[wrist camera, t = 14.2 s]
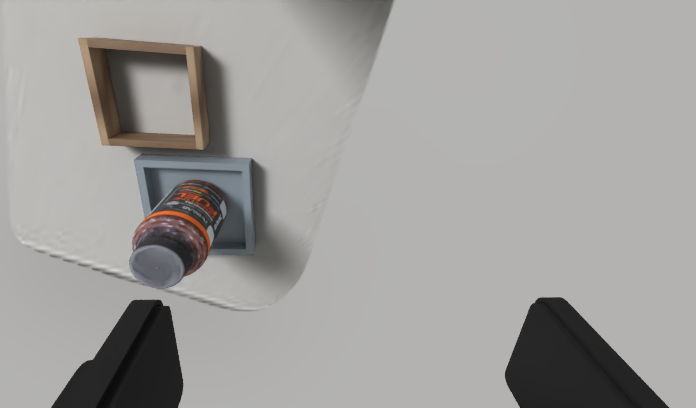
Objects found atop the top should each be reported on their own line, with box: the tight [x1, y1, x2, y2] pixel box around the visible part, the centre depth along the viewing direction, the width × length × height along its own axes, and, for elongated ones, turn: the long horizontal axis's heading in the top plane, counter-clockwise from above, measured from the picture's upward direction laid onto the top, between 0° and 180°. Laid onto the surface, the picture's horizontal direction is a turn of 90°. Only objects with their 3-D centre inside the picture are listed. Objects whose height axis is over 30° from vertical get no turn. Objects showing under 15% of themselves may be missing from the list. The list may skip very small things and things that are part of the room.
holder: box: [78, 38, 210, 150], centre depth 31 cm, size 9×9×2 cm
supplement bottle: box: [129, 180, 227, 288], centre depth 32 cm, size 6×6×11 cm
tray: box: [134, 154, 255, 255], centre depth 37 cm, size 10×10×2 cm
